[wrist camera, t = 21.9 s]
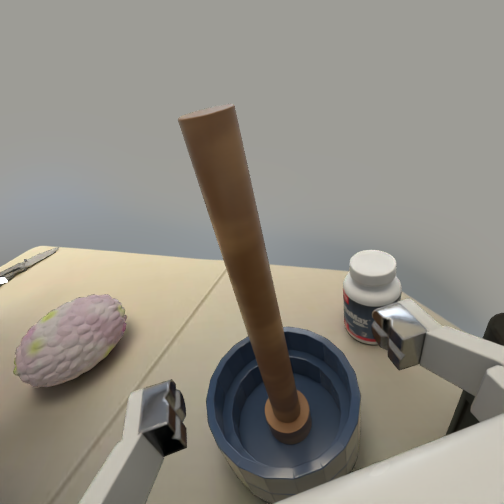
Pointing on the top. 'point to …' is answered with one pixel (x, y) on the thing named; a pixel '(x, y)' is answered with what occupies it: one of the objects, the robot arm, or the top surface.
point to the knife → (24, 264)
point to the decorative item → (70, 340)
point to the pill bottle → (368, 291)
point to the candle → (500, 332)
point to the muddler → (246, 259)
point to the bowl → (257, 429)
